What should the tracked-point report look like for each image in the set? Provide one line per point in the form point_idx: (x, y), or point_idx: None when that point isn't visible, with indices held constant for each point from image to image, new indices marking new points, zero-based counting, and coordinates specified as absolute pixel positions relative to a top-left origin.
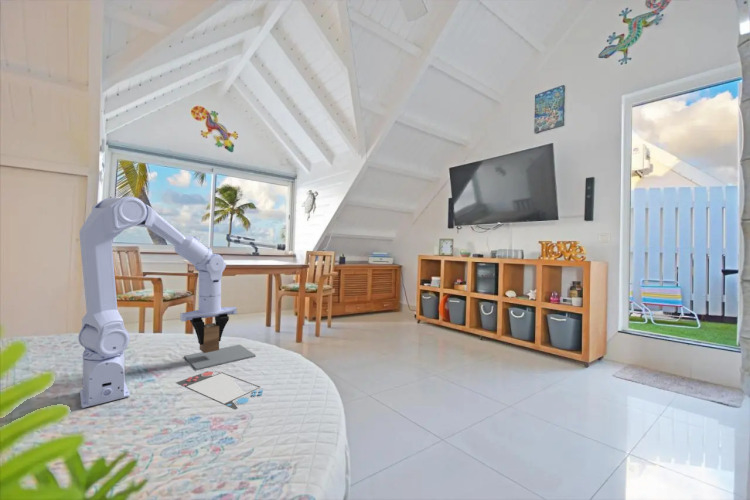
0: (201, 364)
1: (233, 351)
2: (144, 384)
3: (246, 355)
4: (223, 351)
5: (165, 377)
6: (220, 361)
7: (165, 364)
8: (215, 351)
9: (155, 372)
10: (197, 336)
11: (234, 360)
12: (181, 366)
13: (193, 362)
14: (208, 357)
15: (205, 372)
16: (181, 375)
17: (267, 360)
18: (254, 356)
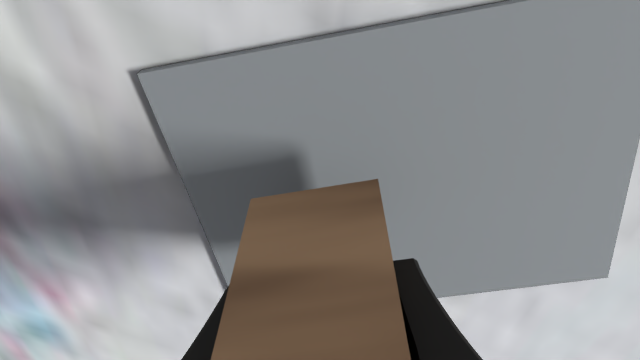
0: None
1: (522, 151)
2: (33, 355)
3: (557, 260)
4: (453, 116)
5: (104, 329)
6: None
7: (38, 164)
8: (393, 85)
9: (26, 259)
10: (204, 335)
11: (458, 292)
12: (155, 237)
13: (221, 237)
14: None
15: None
16: (176, 336)
17: (616, 339)
18: (595, 272)
